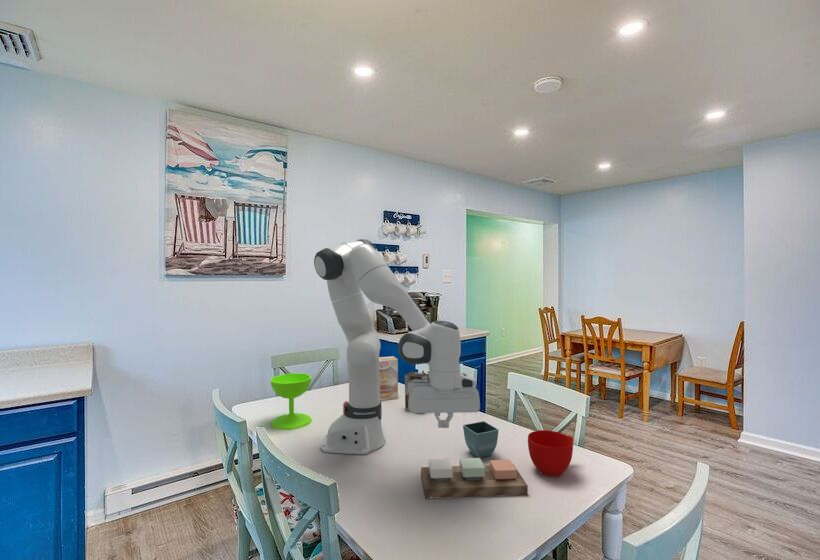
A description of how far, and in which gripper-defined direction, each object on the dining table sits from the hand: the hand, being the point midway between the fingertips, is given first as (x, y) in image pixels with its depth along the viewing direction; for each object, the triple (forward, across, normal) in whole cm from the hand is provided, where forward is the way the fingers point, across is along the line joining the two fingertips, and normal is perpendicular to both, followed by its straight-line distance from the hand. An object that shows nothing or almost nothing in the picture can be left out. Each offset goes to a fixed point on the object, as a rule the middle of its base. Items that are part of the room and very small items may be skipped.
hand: (443, 427), depth 112 cm
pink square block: (+16, +17, -1) cm, 23 cm away
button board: (+16, +8, -1) cm, 18 cm away
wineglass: (+18, -53, +53) cm, 77 cm away
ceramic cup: (+16, +36, +6) cm, 39 cm away
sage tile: (+15, +8, -1) cm, 17 cm away
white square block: (+15, -1, -1) cm, 15 cm away
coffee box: (+17, -1, +61) cm, 64 cm away
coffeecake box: (+17, -17, +80) cm, 83 cm away
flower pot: (+16, +16, +18) cm, 29 cm away
